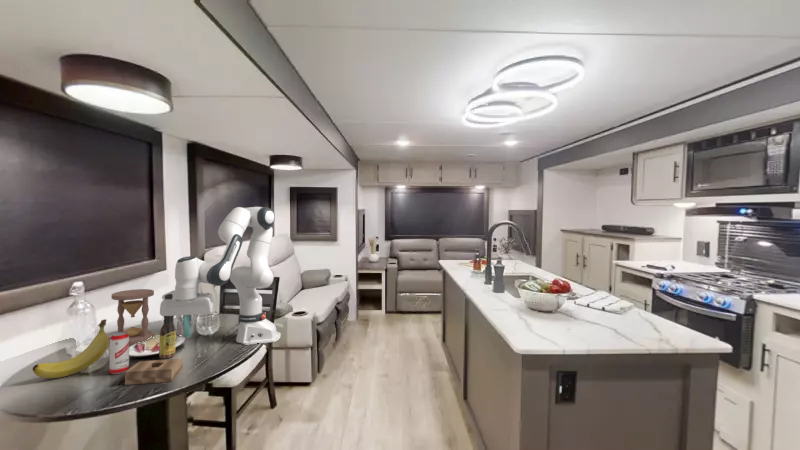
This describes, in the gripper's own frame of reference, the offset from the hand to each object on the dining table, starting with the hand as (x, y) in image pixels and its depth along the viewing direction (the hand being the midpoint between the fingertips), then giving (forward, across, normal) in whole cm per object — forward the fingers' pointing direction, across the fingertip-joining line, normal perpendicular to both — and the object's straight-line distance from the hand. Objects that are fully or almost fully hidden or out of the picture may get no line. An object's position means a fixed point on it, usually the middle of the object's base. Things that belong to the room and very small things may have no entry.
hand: (187, 324), depth 147 cm
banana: (+17, +41, +3) cm, 45 cm away
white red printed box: (+18, +17, -42) cm, 49 cm away
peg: (+5, 0, 0) cm, 5 cm away
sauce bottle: (+18, +12, -10) cm, 24 cm away
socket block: (+17, +7, +12) cm, 22 cm away
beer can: (+18, +24, +4) cm, 30 cm away
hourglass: (+18, +40, -37) cm, 58 cm away
